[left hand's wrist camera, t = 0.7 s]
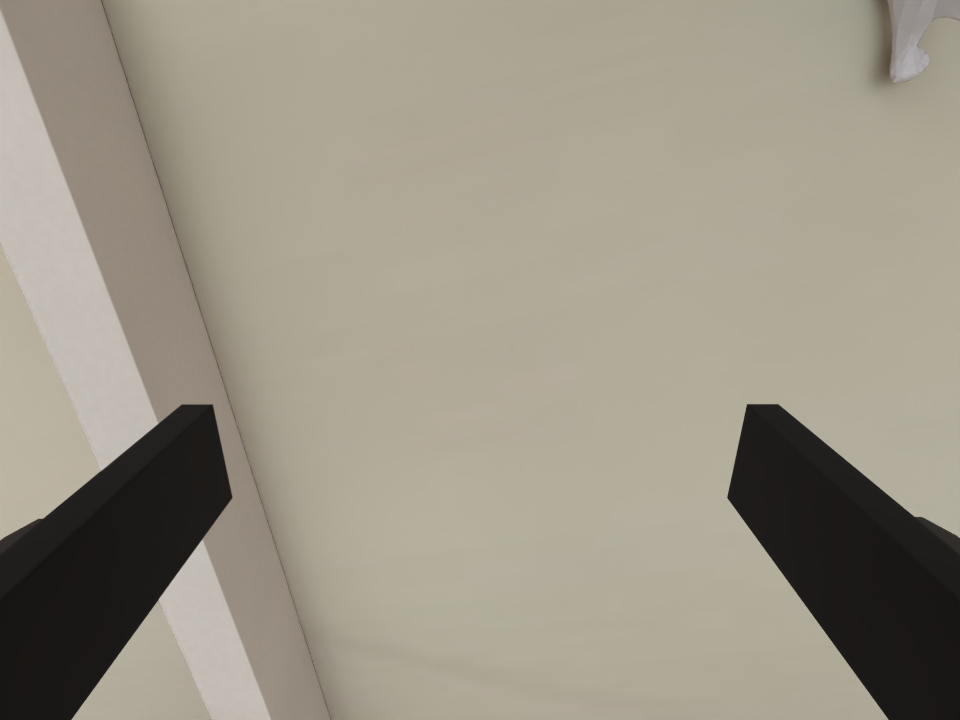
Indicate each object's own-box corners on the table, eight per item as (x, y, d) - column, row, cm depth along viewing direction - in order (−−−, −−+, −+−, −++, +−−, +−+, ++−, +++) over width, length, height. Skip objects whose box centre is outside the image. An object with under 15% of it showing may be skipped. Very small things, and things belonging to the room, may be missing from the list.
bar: (-16, -97, 28) (-193, -189, 20) (66, -109, 27) (-82, -206, 20) (299, 761, 53) (271, 855, 46) (343, 757, 53) (321, 852, 46)
